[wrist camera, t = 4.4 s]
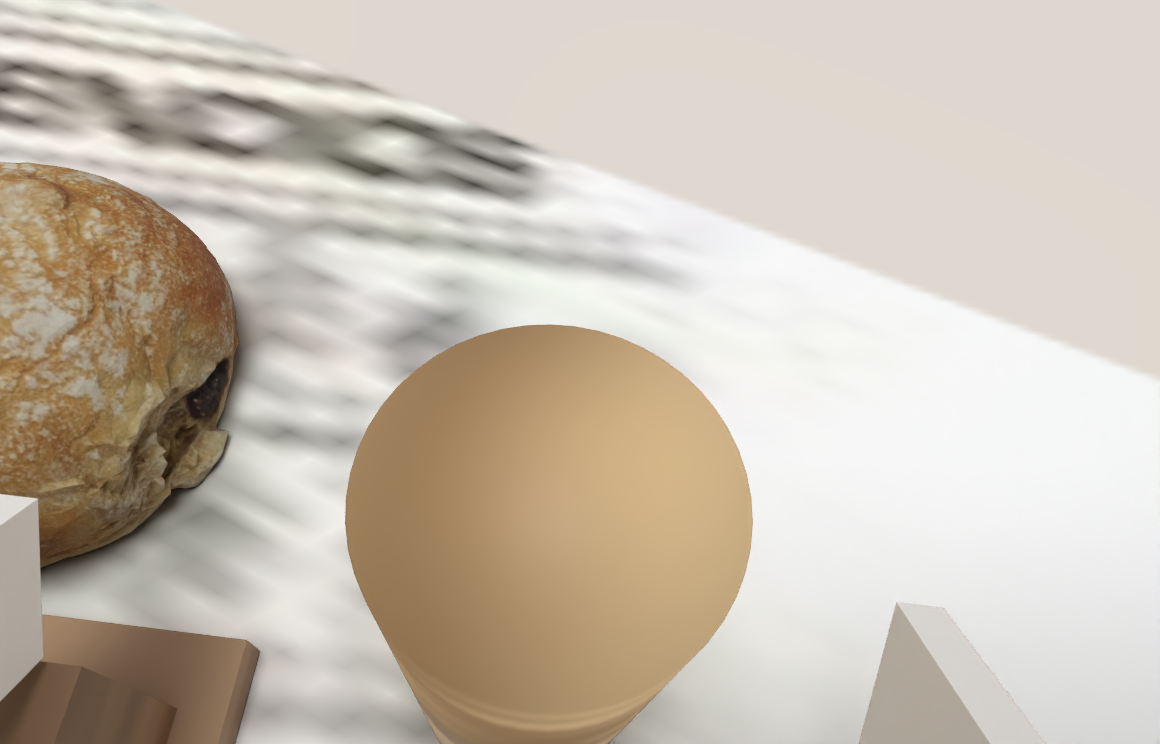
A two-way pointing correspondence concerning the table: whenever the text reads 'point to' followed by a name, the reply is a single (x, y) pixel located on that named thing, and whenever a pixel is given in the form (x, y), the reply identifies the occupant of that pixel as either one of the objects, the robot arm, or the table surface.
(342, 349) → the table surface
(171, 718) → the base
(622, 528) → the post
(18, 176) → the bread roll
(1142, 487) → the table surface
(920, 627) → the robot arm
